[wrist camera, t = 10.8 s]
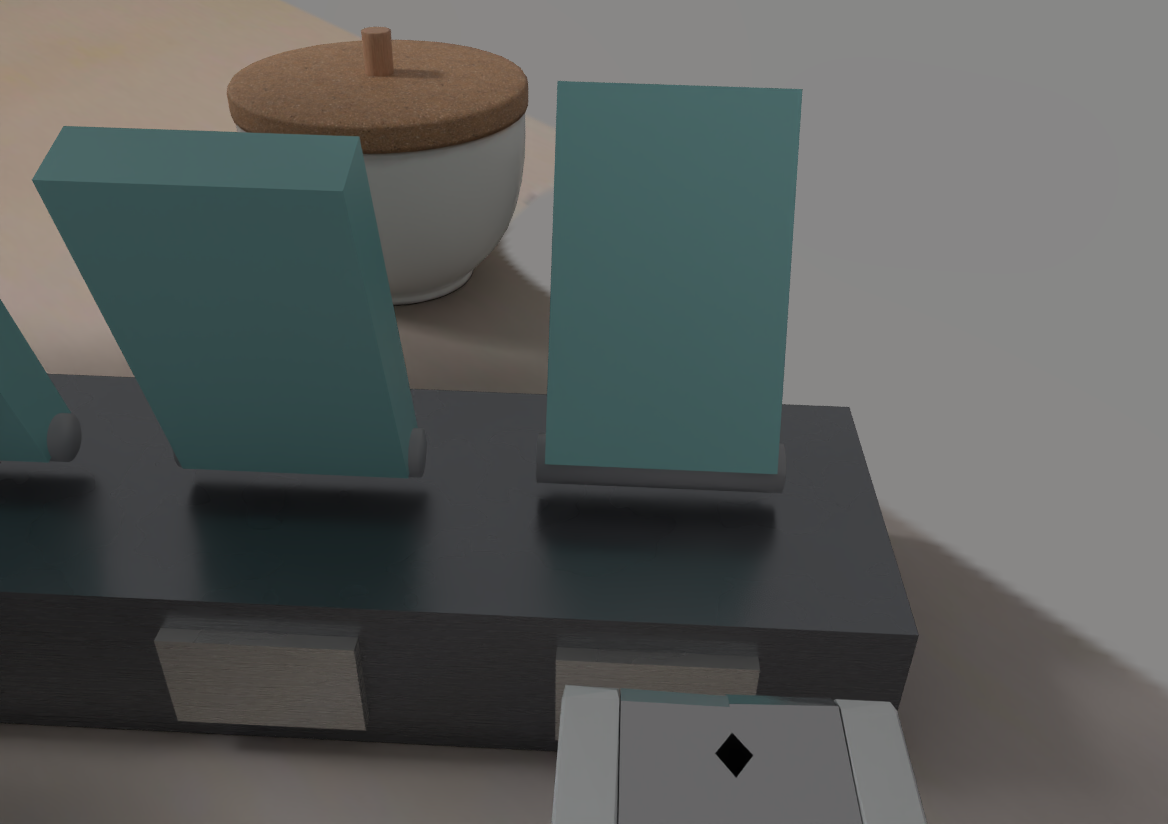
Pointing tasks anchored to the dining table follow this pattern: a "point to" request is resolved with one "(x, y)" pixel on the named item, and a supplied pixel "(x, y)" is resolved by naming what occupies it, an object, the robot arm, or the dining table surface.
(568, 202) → the teal flat block
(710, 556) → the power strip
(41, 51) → the dining table surface
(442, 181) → the lidded jar
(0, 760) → the dining table surface
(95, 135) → the block
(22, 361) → the rocker
